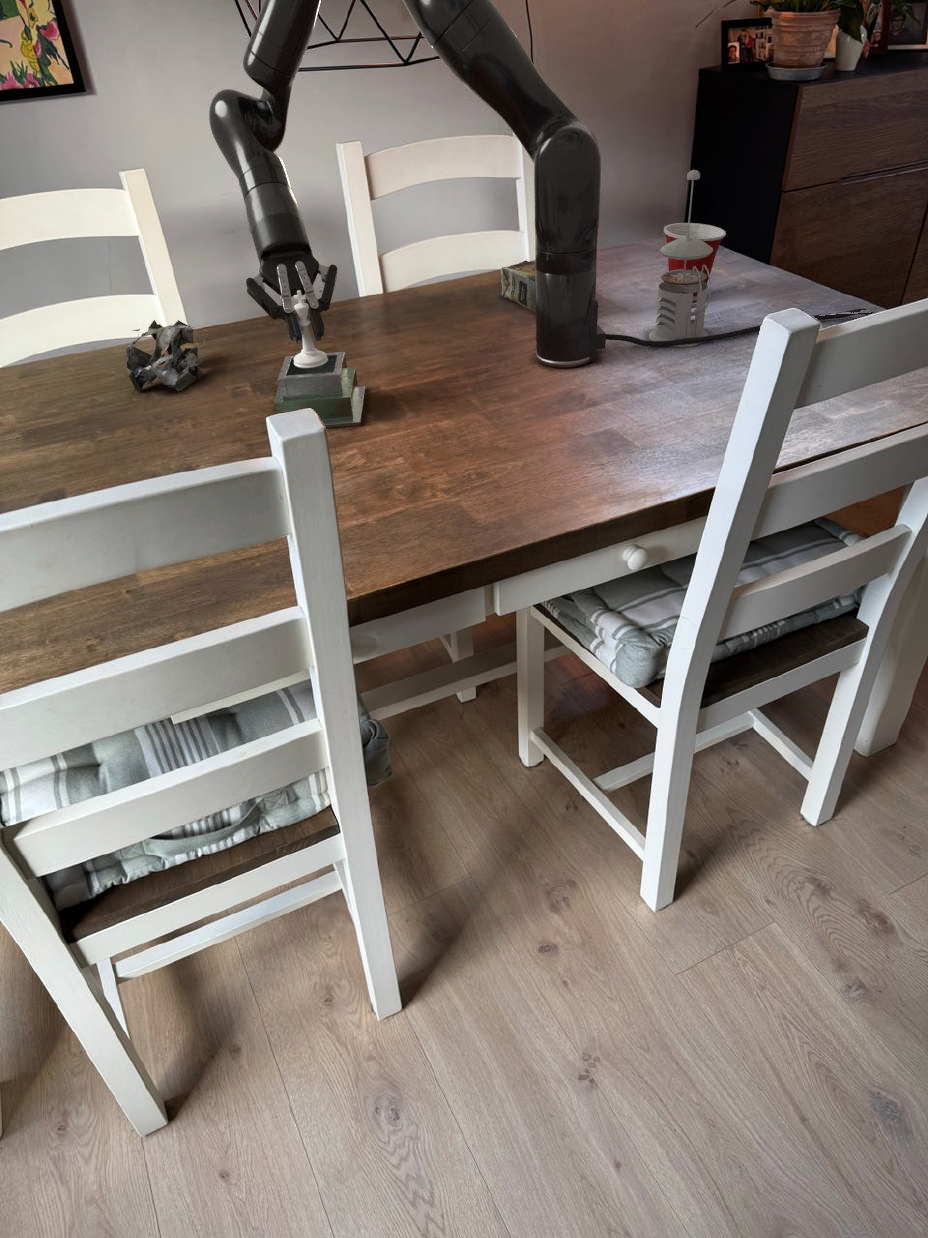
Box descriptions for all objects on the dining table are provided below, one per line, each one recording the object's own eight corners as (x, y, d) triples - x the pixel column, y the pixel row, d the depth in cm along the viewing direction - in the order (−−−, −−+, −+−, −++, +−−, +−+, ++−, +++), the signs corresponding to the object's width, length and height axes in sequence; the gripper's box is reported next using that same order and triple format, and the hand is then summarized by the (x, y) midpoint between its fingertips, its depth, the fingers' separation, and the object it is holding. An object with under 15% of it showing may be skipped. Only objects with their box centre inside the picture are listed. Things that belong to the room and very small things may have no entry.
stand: (365, 389, 133) (359, 345, 129) (360, 425, 123) (353, 378, 118) (282, 395, 133) (273, 351, 129) (270, 432, 123) (260, 385, 119)
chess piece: (321, 368, 121) (309, 296, 115) (288, 367, 122) (275, 296, 116) (332, 355, 125) (321, 285, 119) (300, 354, 126) (288, 285, 120)
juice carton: (496, 294, 165) (495, 261, 162) (540, 285, 169) (540, 253, 165) (550, 324, 151) (551, 289, 147) (597, 314, 154) (599, 279, 150)
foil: (99, 370, 138) (148, 295, 140) (147, 409, 147) (193, 339, 149) (140, 381, 131) (191, 303, 134) (188, 422, 140) (235, 348, 143)
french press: (689, 322, 147) (705, 160, 132) (726, 343, 139) (748, 173, 123) (638, 331, 145) (648, 168, 130) (672, 354, 136) (687, 182, 121)
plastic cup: (724, 305, 153) (733, 233, 146) (663, 308, 154) (669, 237, 146) (711, 286, 162) (719, 218, 154) (653, 289, 162) (658, 222, 155)
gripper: (226, 218, 116) (259, 335, 114) (325, 203, 119) (359, 318, 118) (230, 249, 123) (261, 361, 122) (323, 235, 126) (355, 343, 125)
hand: (309, 339), depth 120 cm, fingers closed on chess piece
